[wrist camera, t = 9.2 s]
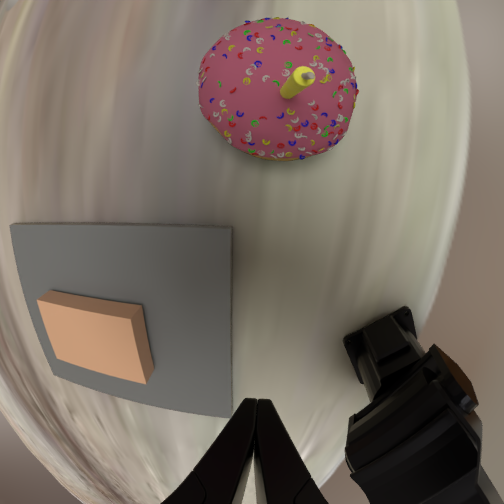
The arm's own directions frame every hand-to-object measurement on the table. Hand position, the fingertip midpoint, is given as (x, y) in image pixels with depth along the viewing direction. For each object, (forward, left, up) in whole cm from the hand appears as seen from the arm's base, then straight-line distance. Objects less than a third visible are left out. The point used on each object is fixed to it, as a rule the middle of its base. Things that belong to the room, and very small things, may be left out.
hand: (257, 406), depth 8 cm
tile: (-1, +12, -11) cm, 16 cm away
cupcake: (+10, -6, -13) cm, 18 cm away
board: (+1, +16, -13) cm, 21 cm away
